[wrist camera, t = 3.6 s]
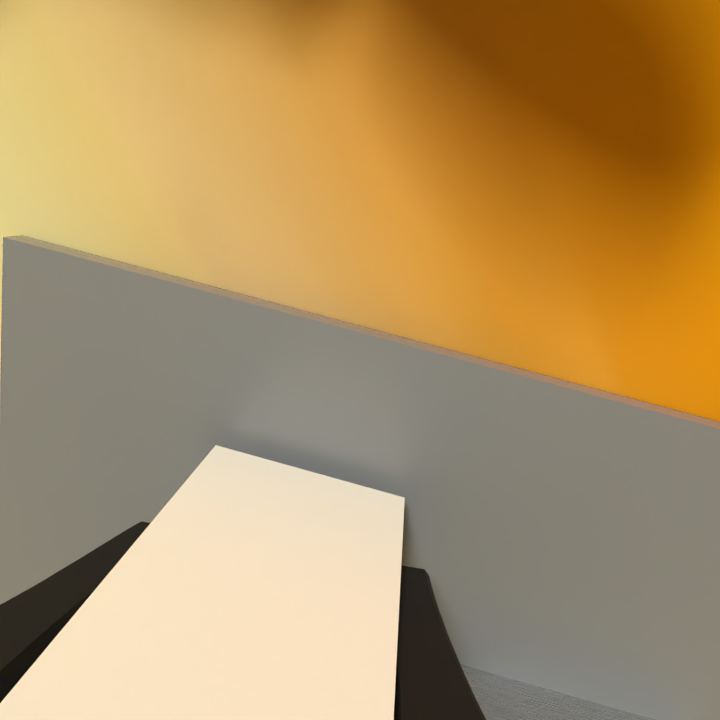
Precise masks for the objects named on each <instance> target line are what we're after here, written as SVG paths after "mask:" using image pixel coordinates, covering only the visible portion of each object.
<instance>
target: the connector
mask: <svg viewBox="0 0 720 720" xmlns="http://www.w3.org/2000/svg"><path fill="white" fill-rule="evenodd" d="M404 502H405V498H404V497H401V496H397V495H394V494H390V493H386V492H383V491H379V490H376V489H372V488H368V487H365V486H361V485H358V484H354V483H350V482H347V481H343V480H340V479H336V478H332V477H329V476H325V475H322V474H318V473H314V472H311V471H307V470H304V469H300V468H296V467H293V466H289V465H286V464H282V463H278V462H275V461H271V460H268V459H264V458H260V457H257V456H253V455H250V454H246V453H242V452H239V451H235V450H232V449H228V448H224V447H221V446H217V445H215V447H214V448H213V449H212V450H211V451H210V453H209V454H208V455H207V456H206V457H205V459H204V460H203V461H202V462H201V463H200V465H199V466H198V467H197V468H196V469H195V471H194V472H193V473H192V474H191V475H190V477H189V478H188V479H187V480H186V481H185V483H184V484H183V485H182V486H181V487H180V489H179V490H178V491H177V492H176V493H175V495H174V496H173V497H172V498H171V499H170V501H169V502H168V503H167V504H166V505H165V507H164V508H163V509H162V510H161V511H160V513H159V514H158V515H157V516H156V517H155V519H154V520H153V521H152V522H151V523H150V525H149V526H148V527H147V528H146V529H145V530H144V532H143V533H142V534H141V535H140V536H139V538H138V539H137V540H136V541H135V542H134V544H133V545H132V546H131V547H130V548H129V550H128V551H127V552H126V553H125V554H124V556H123V557H122V558H121V559H120V560H119V562H118V563H117V564H116V565H115V566H114V568H113V569H112V570H111V571H110V572H109V574H108V575H107V576H106V577H105V578H104V580H103V581H102V582H101V583H100V584H99V586H98V587H97V588H96V589H95V590H94V592H93V593H92V594H91V595H90V596H89V598H88V599H87V600H86V601H85V602H84V604H83V605H82V606H81V607H80V608H79V610H78V611H77V612H76V613H75V614H74V616H73V617H72V618H71V619H70V620H69V622H68V623H67V624H66V625H65V626H64V627H63V629H62V630H61V631H60V632H59V633H58V635H57V636H56V637H55V638H54V639H53V641H52V642H51V643H50V644H49V645H48V647H47V648H46V649H45V650H44V651H43V653H42V654H41V655H40V656H39V657H38V659H37V660H36V661H35V662H34V663H33V665H32V666H31V667H30V668H29V669H28V671H27V672H26V673H25V674H24V675H23V677H22V678H21V679H20V680H19V681H18V683H17V684H16V685H15V686H14V687H13V689H12V690H11V691H10V692H9V693H8V695H7V696H6V697H5V698H4V699H3V701H2V702H1V703H0V720H394V702H395V682H396V662H397V642H398V622H399V602H400V582H401V562H402V542H403V522H404Z"/></svg>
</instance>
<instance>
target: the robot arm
mask: <svg viewBox="0 0 720 720" xmlns="http://www.w3.org/2000/svg"><path fill="white" fill-rule="evenodd" d="M149 525H150V523H148V522H142V521H141V522H139V523H137V524H136V525H134V526H132V527H130V528H129V529H127V530H125V531H124V532H122V533H120V534H119V535H117V536H115V537H114V538H112V539H111V540H109V541H107V542H106V543H104V544H102V545H101V546H99V547H98V548H96V549H94V550H93V551H91V552H90V553H88V554H86V555H85V556H83V557H81V558H80V559H78V560H76V561H75V562H73V563H71V564H70V565H68V566H66V567H65V568H63V569H61V570H60V571H58V572H56V573H55V574H53V575H51V576H50V577H48V578H47V579H45V580H43V581H42V582H40V583H38V584H36V585H35V586H33V587H31V588H29V589H28V590H26V591H24V592H22V593H20V594H19V595H17V596H15V597H13V598H11V599H10V600H8V601H6V602H4V603H2V604H1V605H0V703H1V702H2V701H3V699H4V698H5V697H6V696H7V695H8V693H9V692H10V691H11V690H12V689H13V687H14V686H15V685H16V684H17V683H18V681H19V680H20V679H21V678H22V677H23V675H24V674H25V673H26V672H27V671H28V669H29V668H30V667H31V666H32V665H33V663H34V662H35V661H36V660H37V659H38V657H39V656H40V655H41V654H42V653H43V651H44V650H45V649H46V648H47V647H48V645H49V644H50V643H51V642H52V641H53V639H54V638H55V637H56V636H57V635H58V633H59V632H60V631H61V630H62V629H63V627H64V626H65V625H66V624H67V623H68V622H69V620H70V619H71V618H72V617H73V616H74V614H75V613H76V612H77V611H78V610H79V608H80V607H81V606H82V605H83V604H84V602H85V601H86V600H87V599H88V598H89V596H90V595H91V594H92V593H93V592H94V590H95V589H96V588H97V587H98V586H99V584H100V583H101V582H102V581H103V580H104V578H105V577H106V576H107V575H108V574H109V572H110V571H111V570H112V569H113V568H114V566H115V565H116V564H117V563H118V562H119V560H120V559H121V558H122V557H123V556H124V554H125V553H126V552H127V551H128V550H129V548H130V547H131V546H132V545H133V544H134V542H135V541H136V540H137V539H138V538H139V536H140V535H141V534H142V533H143V532H144V530H145V529H146V528H147V527H148V526H149ZM394 720H486V718H485V716H484V714H483V712H482V710H481V708H480V706H479V704H478V702H477V700H476V698H475V696H474V694H473V692H472V689H471V687H470V685H469V683H468V681H467V679H466V676H465V674H464V672H463V669H462V667H461V665H460V662H459V660H458V658H457V655H456V653H455V650H454V648H453V646H452V643H451V641H450V638H449V636H448V633H447V631H446V628H445V625H444V622H443V620H442V617H441V614H440V611H439V608H438V605H437V602H436V599H435V596H434V592H433V589H432V585H431V581H430V577H429V575H428V573H427V572H426V571H425V569H420V568H414V567H408V566H403V565H401V582H400V602H399V622H398V642H397V662H396V682H395V702H394Z"/></svg>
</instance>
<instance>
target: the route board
mask: <svg viewBox="0 0 720 720" xmlns="http://www.w3.org/2000/svg"><path fill="white" fill-rule="evenodd" d="M215 445H217V446H221V447H224V448H228V449H232V450H235V451H239V452H242V453H246V454H250V455H253V456H257V457H260V458H264V459H268V460H271V461H275V462H278V463H282V464H286V465H289V466H293V467H296V468H300V469H304V470H307V471H311V472H314V473H318V474H322V475H325V476H329V477H332V478H336V479H340V480H343V481H347V482H350V483H354V484H358V485H361V486H365V487H368V488H372V489H376V490H379V491H383V492H386V493H390V494H394V495H397V496H401V497H404V498H405V502H404V522H403V542H402V562H401V565H403V566H408V567H414V568H420V569H425V571H426V572H427V573H428V575H429V577H430V581H431V585H432V589H433V592H434V596H435V599H436V602H437V605H438V608H439V611H440V614H441V617H442V620H443V622H444V625H445V628H446V631H447V633H448V636H449V638H450V641H451V643H452V646H453V648H454V650H455V653H456V655H457V658H458V660H459V662H460V664H462V665H465V666H469V667H472V668H476V669H479V670H483V671H486V672H490V673H493V674H497V675H500V676H504V677H507V678H511V679H514V680H518V681H521V682H525V683H528V684H532V685H535V686H539V687H542V688H546V689H549V690H553V691H556V692H560V693H563V694H567V695H570V696H574V697H577V698H581V699H584V700H588V701H591V702H595V703H598V704H602V705H605V706H609V707H612V708H616V709H619V710H623V711H626V712H630V713H633V714H637V715H640V716H644V717H647V718H651V719H654V720H720V422H717V421H714V420H710V419H706V418H703V417H699V416H695V415H691V414H688V413H684V412H680V411H676V410H673V409H669V408H665V407H661V406H658V405H654V404H650V403H646V402H643V401H639V400H635V399H631V398H628V397H624V396H620V395H617V394H613V393H609V392H605V391H602V390H598V389H594V388H590V387H587V386H583V385H579V384H575V383H572V382H568V381H564V380H560V379H557V378H553V377H549V376H545V375H542V374H538V373H534V372H530V371H527V370H523V369H519V368H516V367H512V366H508V365H504V364H501V363H497V362H493V361H489V360H486V359H482V358H478V357H474V356H471V355H467V354H463V353H459V352H456V351H452V350H448V349H444V348H441V347H437V346H433V345H429V344H426V343H422V342H418V341H415V340H411V339H407V338H403V337H400V336H396V335H392V334H388V333H385V332H381V331H377V330H373V329H370V328H366V327H362V326H358V325H355V324H351V323H347V322H343V321H340V320H336V319H332V318H328V317H325V316H321V315H317V314H314V313H310V312H306V311H302V310H299V309H295V308H291V307H287V306H284V305H280V304H276V303H272V302H269V301H265V300H261V299H257V298H254V297H250V296H246V295H242V294H239V293H235V292H231V291H228V290H224V289H220V288H216V287H213V286H209V285H205V284H201V283H198V282H194V281H190V280H186V279H183V278H179V277H175V276H171V275H168V274H164V273H160V272H156V271H153V270H149V269H145V268H141V267H138V266H134V265H130V264H127V263H123V262H119V261H115V260H112V259H108V258H104V257H100V256H97V255H93V254H89V253H85V252H82V251H78V250H74V249H70V248H67V247H63V246H59V245H55V244H52V243H48V242H44V241H40V240H37V239H33V238H29V237H26V236H11V237H3V276H2V328H1V380H0V605H1V604H2V603H4V602H6V601H8V600H10V599H11V598H13V597H15V596H17V595H19V594H20V593H22V592H24V591H26V590H28V589H29V588H31V587H33V586H35V585H36V584H38V583H40V582H42V581H43V580H45V579H47V578H48V577H50V576H51V575H53V574H55V573H56V572H58V571H60V570H61V569H63V568H65V567H66V566H68V565H70V564H71V563H73V562H75V561H76V560H78V559H80V558H81V557H83V556H85V555H86V554H88V553H90V552H91V551H93V550H94V549H96V548H98V547H99V546H101V545H102V544H104V543H106V542H107V541H109V540H111V539H112V538H114V537H115V536H117V535H119V534H120V533H122V532H124V531H125V530H127V529H129V528H130V527H132V526H134V525H136V524H137V523H139V522H141V521H142V522H148V523H151V522H152V521H153V520H154V519H155V517H156V516H157V515H158V514H159V513H160V511H161V510H162V509H163V508H164V507H165V505H166V504H167V503H168V502H169V501H170V499H171V498H172V497H173V496H174V495H175V493H176V492H177V491H178V490H179V489H180V487H181V486H182V485H183V484H184V483H185V481H186V480H187V479H188V478H189V477H190V475H191V474H192V473H193V472H194V471H195V469H196V468H197V467H198V466H199V465H200V463H201V462H202V461H203V460H204V459H205V457H206V456H207V455H208V454H209V453H210V451H211V450H212V449H213V448H214V447H215Z"/></svg>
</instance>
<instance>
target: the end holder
mask: <svg viewBox="0 0 720 720" xmlns="http://www.w3.org/2000/svg"><path fill="white" fill-rule="evenodd" d="M460 665H461V667H462V669H463V672H464V674H465V676H466V679H467V681H468V683H469V685H470V687H471V689H472V692H473V694H474V696H475V698H476V700H477V702H478V704H479V706H480V708H481V710H482V712H483V714H484V716H485V718H486V720H654V719H651V718H647V717H644V716H640V715H637V714H633V713H630V712H626V711H623V710H619V709H616V708H612V707H609V706H605V705H602V704H598V703H595V702H591V701H588V700H584V699H581V698H577V697H574V696H570V695H567V694H563V693H560V692H556V691H553V690H549V689H546V688H542V687H539V686H535V685H532V684H528V683H525V682H521V681H518V680H514V679H511V678H507V677H504V676H500V675H497V674H493V673H490V672H486V671H483V670H479V669H476V668H472V667H469V666H465V665H462V664H460Z"/></svg>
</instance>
